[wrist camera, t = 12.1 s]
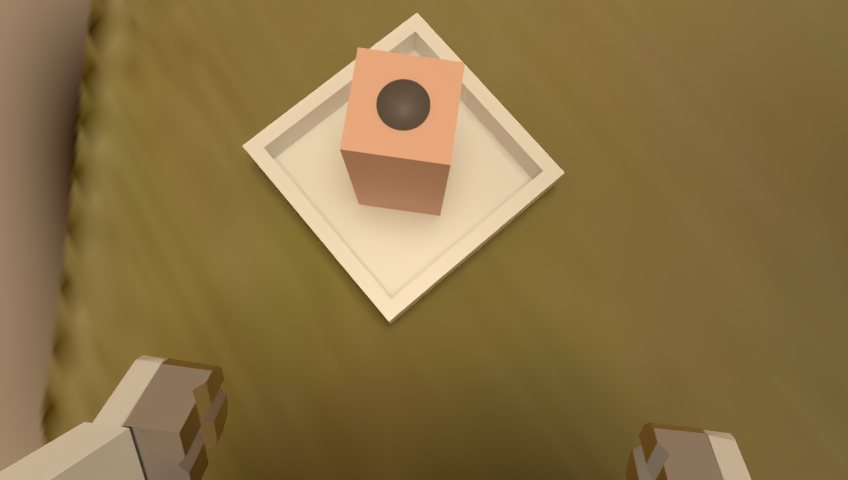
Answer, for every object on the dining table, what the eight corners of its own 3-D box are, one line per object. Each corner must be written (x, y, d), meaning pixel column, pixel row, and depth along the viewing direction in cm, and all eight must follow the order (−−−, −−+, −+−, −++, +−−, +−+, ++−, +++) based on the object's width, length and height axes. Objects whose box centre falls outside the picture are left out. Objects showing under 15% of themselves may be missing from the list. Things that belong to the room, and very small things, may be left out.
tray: (553, 186, 34) (564, 172, 31) (390, 324, 32) (388, 321, 30) (416, 37, 35) (416, 12, 33) (255, 161, 34) (242, 145, 31)
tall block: (439, 216, 33) (450, 164, 24) (359, 204, 33) (339, 148, 24) (450, 139, 34) (465, 61, 25) (372, 127, 34) (357, 46, 25)
